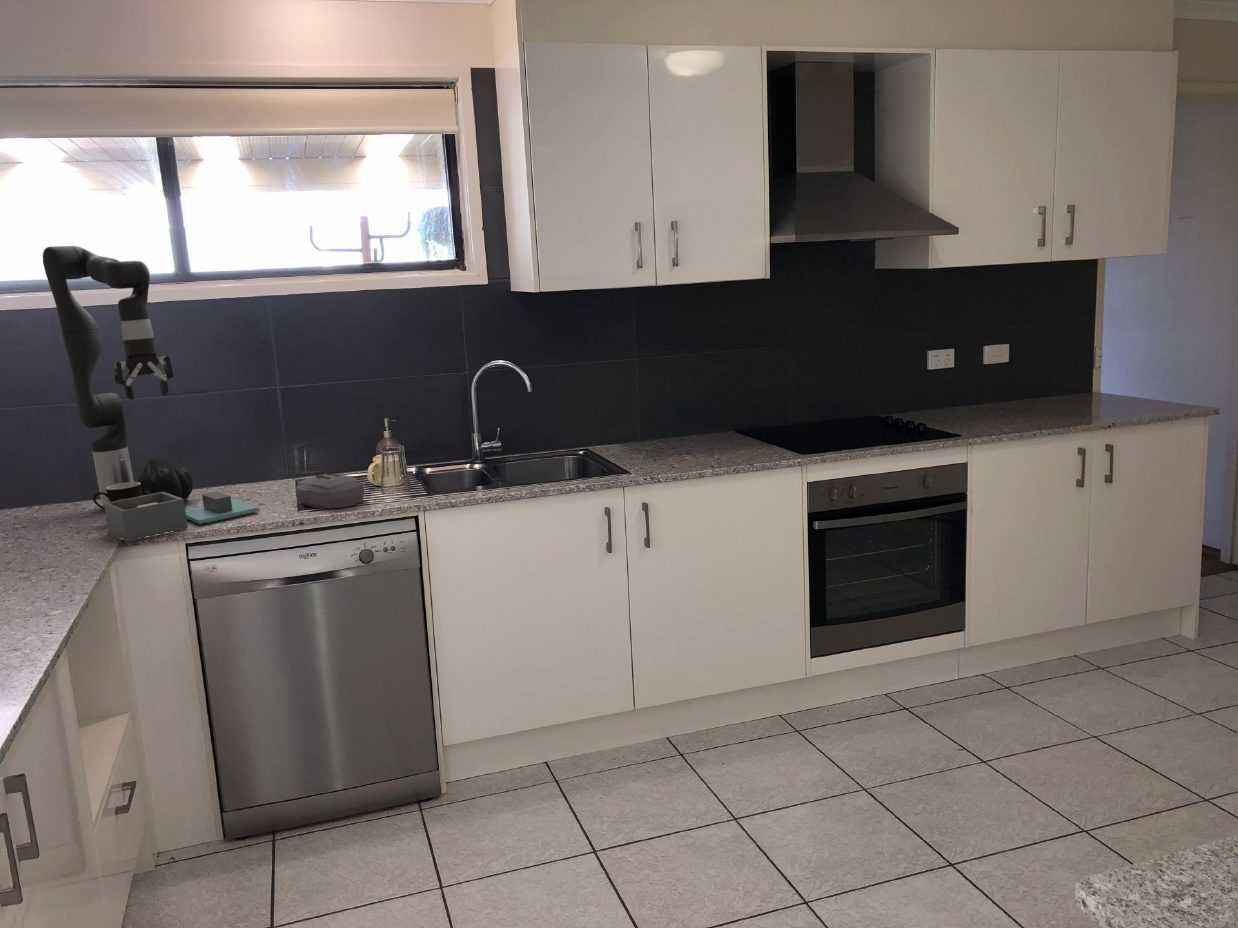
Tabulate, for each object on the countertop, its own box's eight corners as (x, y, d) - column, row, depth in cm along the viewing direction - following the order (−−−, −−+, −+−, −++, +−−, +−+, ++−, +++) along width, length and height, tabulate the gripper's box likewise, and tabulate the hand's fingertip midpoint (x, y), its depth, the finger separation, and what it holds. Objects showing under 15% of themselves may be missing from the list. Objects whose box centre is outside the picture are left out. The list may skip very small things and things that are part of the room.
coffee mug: (153, 517, 274) (147, 482, 272) (130, 525, 266) (124, 489, 264) (118, 516, 277) (112, 482, 275) (95, 525, 269) (88, 489, 267)
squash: (210, 479, 294) (172, 443, 292) (184, 493, 279) (143, 456, 278) (182, 511, 297) (144, 476, 296) (155, 526, 283) (114, 490, 281)
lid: (179, 518, 272) (175, 497, 270) (236, 506, 282) (233, 485, 281) (200, 527, 260) (196, 505, 259) (259, 514, 270) (256, 492, 269)
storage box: (109, 533, 259) (103, 503, 258) (168, 520, 269) (163, 491, 268) (127, 542, 248) (121, 511, 247) (188, 528, 258) (183, 498, 257)
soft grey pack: (289, 506, 277) (331, 514, 264) (285, 477, 275) (327, 483, 263) (335, 494, 288) (377, 501, 276) (331, 466, 287) (374, 472, 274)
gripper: (160, 334, 273) (170, 392, 276) (105, 339, 263) (115, 400, 267) (170, 334, 267) (179, 394, 270) (114, 340, 258) (124, 402, 261)
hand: (147, 397), depth 268 cm, fingers open, 8 cm apart
